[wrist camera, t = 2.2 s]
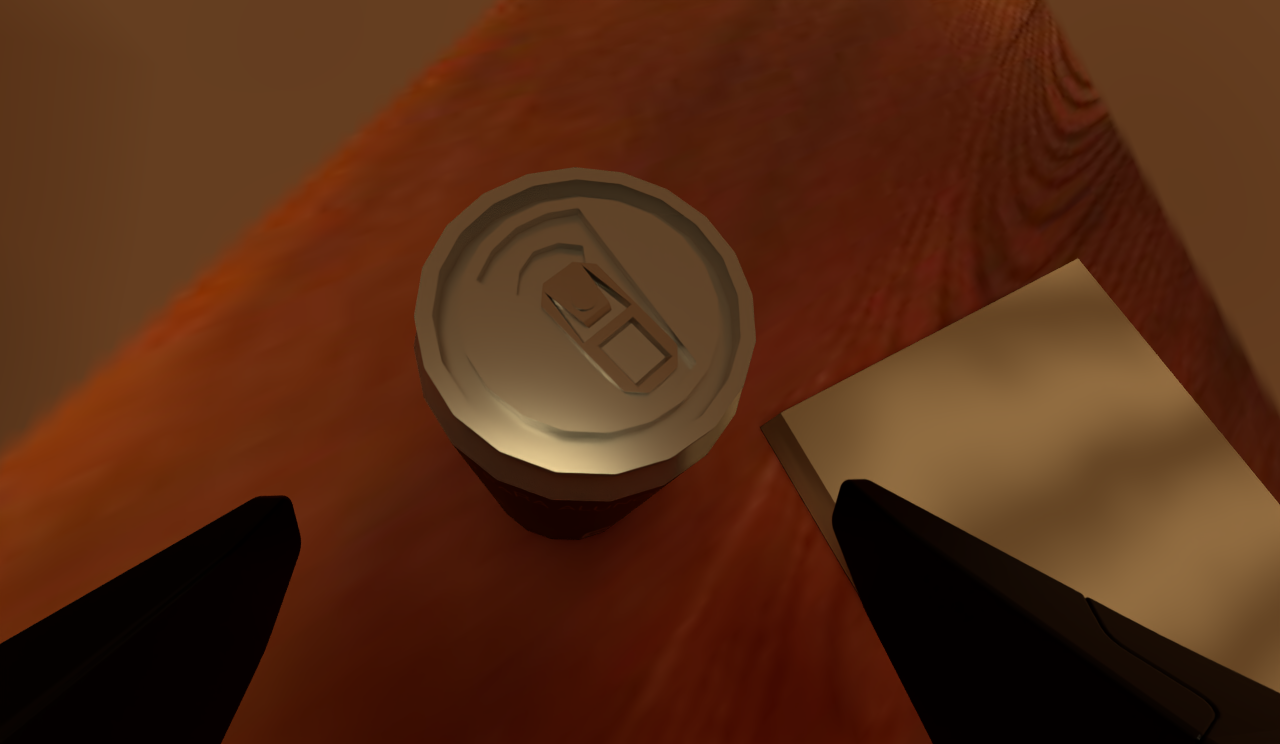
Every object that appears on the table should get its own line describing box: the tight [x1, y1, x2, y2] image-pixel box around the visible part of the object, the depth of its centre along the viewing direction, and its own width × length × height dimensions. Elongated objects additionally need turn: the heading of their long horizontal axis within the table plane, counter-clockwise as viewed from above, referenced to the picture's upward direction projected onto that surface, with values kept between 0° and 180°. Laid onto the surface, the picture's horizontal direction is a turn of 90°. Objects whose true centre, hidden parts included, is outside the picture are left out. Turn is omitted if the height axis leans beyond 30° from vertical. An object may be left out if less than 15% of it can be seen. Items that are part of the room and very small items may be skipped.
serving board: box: [760, 259, 1280, 693], centre depth 20 cm, size 16×16×2 cm
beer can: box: [414, 167, 756, 540], centre depth 13 cm, size 5×5×12 cm
